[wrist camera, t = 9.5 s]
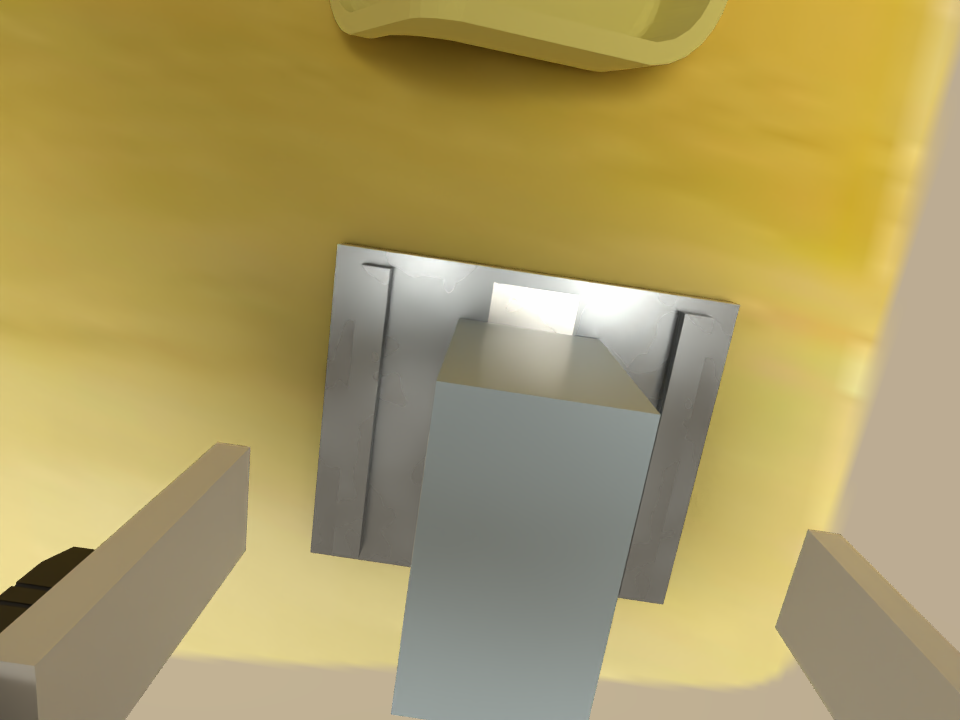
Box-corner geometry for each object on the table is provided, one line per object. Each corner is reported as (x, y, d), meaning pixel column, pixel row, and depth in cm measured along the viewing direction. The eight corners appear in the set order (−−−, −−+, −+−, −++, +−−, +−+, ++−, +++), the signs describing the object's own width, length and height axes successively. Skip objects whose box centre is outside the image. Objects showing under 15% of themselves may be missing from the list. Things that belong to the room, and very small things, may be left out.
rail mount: (343, 242, 21) (332, 245, 20) (730, 301, 21) (748, 308, 20) (316, 541, 24) (304, 562, 23) (657, 591, 24) (667, 615, 23)
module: (457, 318, 21) (434, 380, 13) (601, 339, 21) (662, 415, 13) (425, 544, 23) (389, 713, 15) (555, 564, 23) (584, 742, 15)
